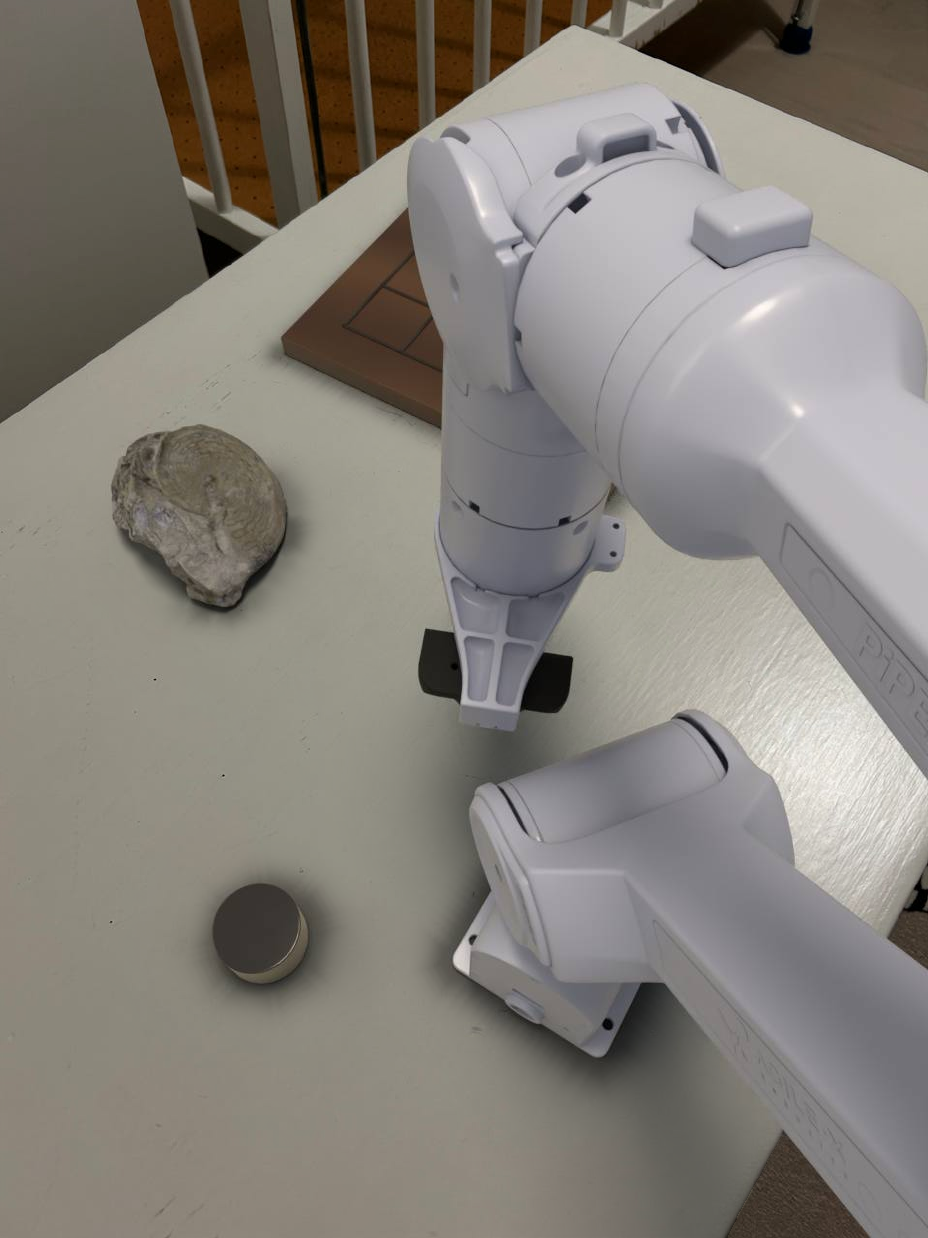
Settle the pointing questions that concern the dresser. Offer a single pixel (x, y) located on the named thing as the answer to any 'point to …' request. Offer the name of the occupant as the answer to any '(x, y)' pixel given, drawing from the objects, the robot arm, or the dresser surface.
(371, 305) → the board
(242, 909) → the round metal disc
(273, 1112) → the dresser surface
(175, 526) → the fossilized seashell
